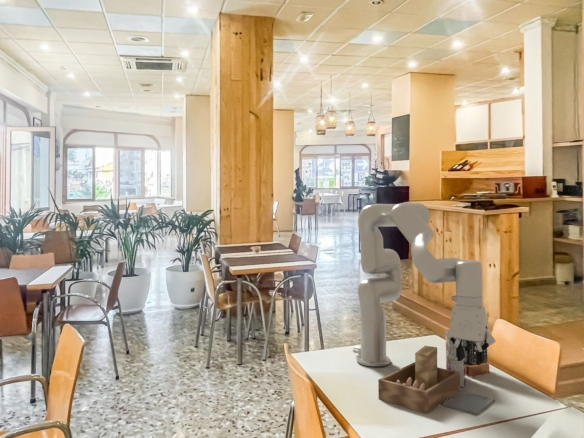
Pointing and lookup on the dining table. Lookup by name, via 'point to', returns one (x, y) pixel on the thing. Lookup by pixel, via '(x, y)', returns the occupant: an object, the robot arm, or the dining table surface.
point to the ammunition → (413, 384)
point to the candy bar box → (454, 360)
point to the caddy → (415, 397)
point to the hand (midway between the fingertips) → (469, 361)
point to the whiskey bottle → (474, 360)
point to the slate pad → (469, 402)
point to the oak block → (426, 367)
